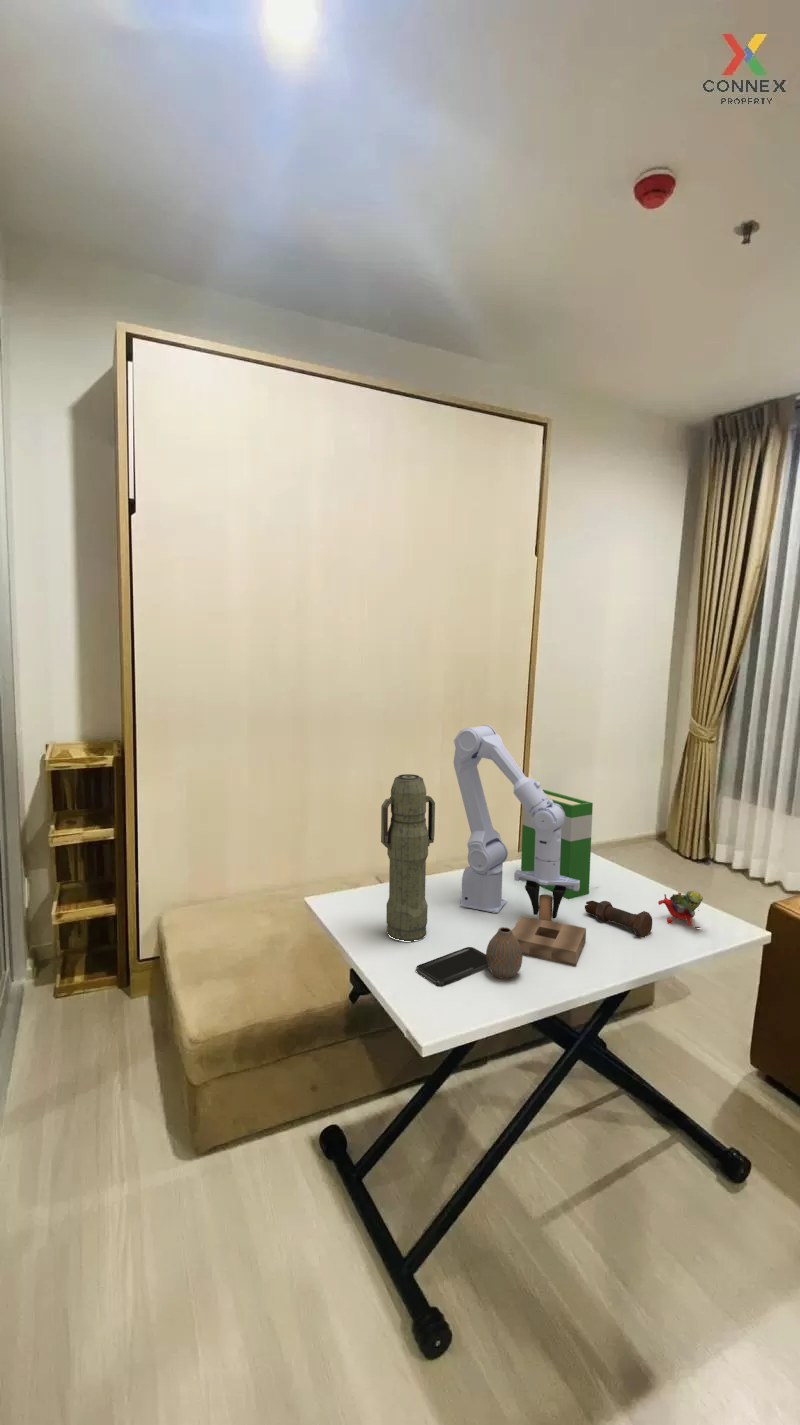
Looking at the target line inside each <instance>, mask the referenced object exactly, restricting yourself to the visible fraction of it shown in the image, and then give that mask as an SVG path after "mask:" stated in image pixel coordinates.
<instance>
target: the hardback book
mask: <svg viewBox="0 0 800 1425" xmlns="http://www.w3.org/2000/svg"><path fill="white" fill-rule="evenodd" d="M542 790H543V791H544V793H545V794H546V795H547V797H548V798H549V799H552V801H553V802H554V803H556V804H558V805H560V806H561V807H562V809H563V810H564V812H565V816H566V819H565V822H564V824H563V825H562V826H561V827H560V828H561V852H560V875H561V876H565V877H568V878H571V879H575V880H580V888H579V890H578V891H574V890H573V889H568V888H567V889H566V891H565V893H564V895H563V897H562V898H563V899H566V900H572V899H575V898H580V897H584V896H587V895H589V894H590V874H591V855H592V854H591V850H592V827H593V826H592V825H593V804H594V803H593V802H591V801H586V800H583V799H580V798H576V797H572V796H568V795H566V794H565V795H564V794H561V793H557V792H553V791H550V790H547V789H542ZM532 818H533V817H532V816H531V815H530V814H529V813H528V811H527V810H526V809H525V808H524V806H523V805H522V828H521V829H522V832H521V835H522V836H521V862H520V863H521V864H520V871H534V860H535V834H536V832H535V829H534V828H533V826H532V823H531V819H532ZM558 829H559V828H558ZM540 888H543V889H545V890H546V891H549V892H551V893H553V889H554V888H555V886H550V885H541V884H540Z"/></svg>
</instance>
